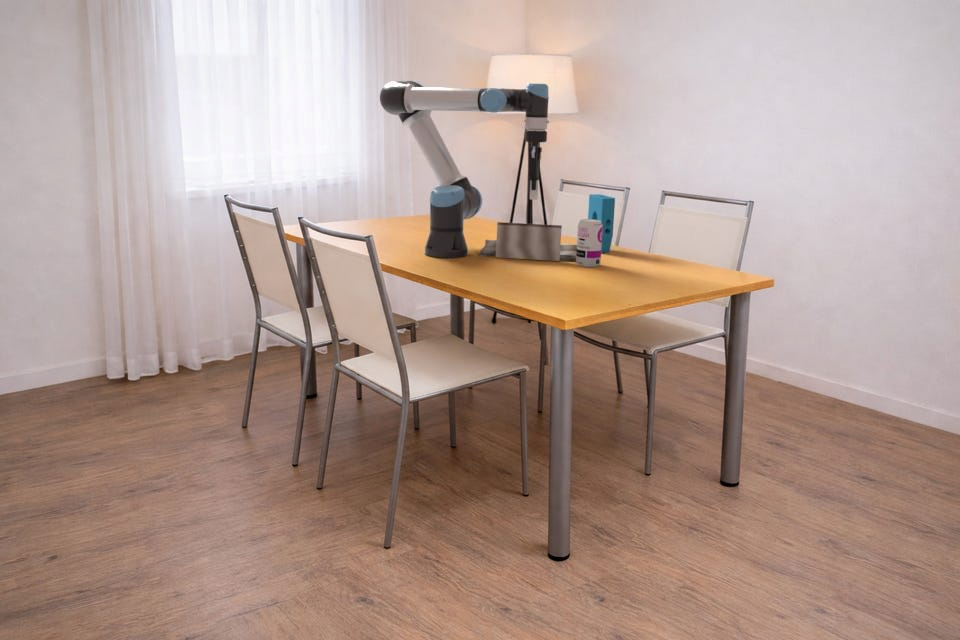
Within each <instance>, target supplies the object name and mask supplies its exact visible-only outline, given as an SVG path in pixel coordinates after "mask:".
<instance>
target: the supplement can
mask: <svg viewBox="0 0 960 640" xmlns="http://www.w3.org/2000/svg"><path fill="white" fill-rule="evenodd" d="M602 231H603V225H602V223H601V221H600V220H594V219H588V218H586V219H584V218H583V219H580V220H579V222H578V224H577V234H576V235H577V237H576V238H577V239H576V245H577V251H576V262H575V263H576V264H577V265H578V266H579V267H585V268H596V267H598V266H600V264H601V261H602V258H601V257H602V253H601V247H602Z"/></svg>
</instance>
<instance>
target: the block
mask: <svg viewBox="0 0 960 640" xmlns="http://www.w3.org/2000/svg"><path fill="white" fill-rule="evenodd" d="M588 195H589V196H588V209H587V211H588V213H587V215H588V216H587V219H594V220H600V221H601V223H602V225H603V231H602V247H601V254H608V253H610V250H611V248H612V247H611V246H612V241H613V236H614V224H615V223H614V222H615V221H614V220H615V207H616V206H615V205H616V198H615V197H612V196H609V195H605V194H602V193H601V194H600V193H597V194H593V193H592V194H590V193H589V194H588Z"/></svg>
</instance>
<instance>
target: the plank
mask: <svg viewBox="0 0 960 640" xmlns="http://www.w3.org/2000/svg"><path fill="white" fill-rule="evenodd" d="M496 225H497V227H496V240H497V242H496V257H495V258H506V259H521V260H523V259H524V260H537V261H538V260H539V261H540V260H541V261H555V262H556V261H557V262H561V261H560V245H561V244H562V225H558V224H542V223H541V224H539V223H525V222H524V223H521V222H520V223H519V222H504V221H503V222H501V221H497V224H496Z"/></svg>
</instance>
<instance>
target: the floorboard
mask: <svg viewBox="0 0 960 640" xmlns="http://www.w3.org/2000/svg"><path fill="white" fill-rule="evenodd" d="M484 241H485V242H484V243H485V244H484V246H483V247H482V248H481V249H480V253H479V256H480V257H489V258H490V257H492V258H497V257H496V242H497V239H485V240H484ZM576 251H577V244H572V243H571V244H570V243H561V245H560V261H559V262H572V263H573V262H575V263H576Z"/></svg>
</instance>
